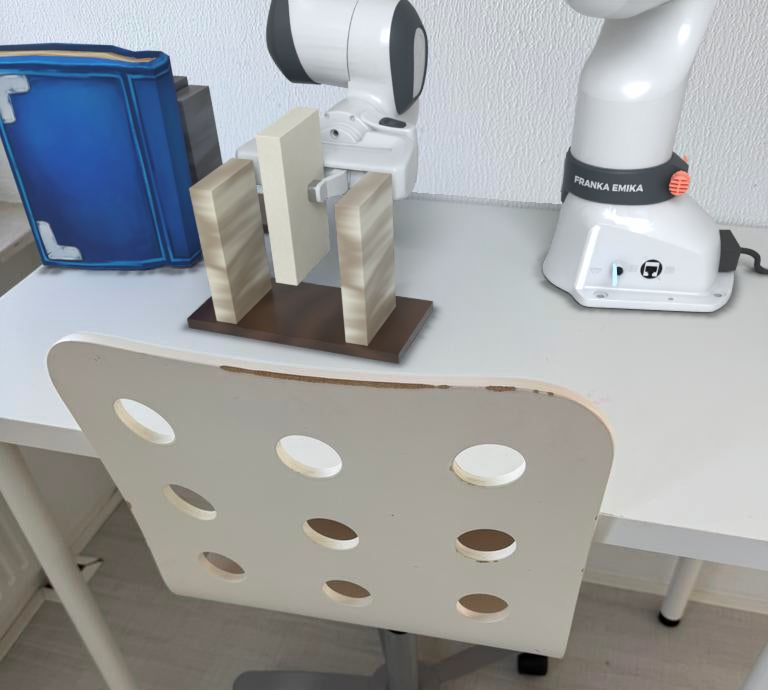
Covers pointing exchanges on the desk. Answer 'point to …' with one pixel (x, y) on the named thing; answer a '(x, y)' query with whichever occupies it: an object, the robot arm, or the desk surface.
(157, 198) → the book
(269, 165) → the ivory book
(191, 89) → the grey stand
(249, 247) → the ivory stand
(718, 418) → the desk surface
